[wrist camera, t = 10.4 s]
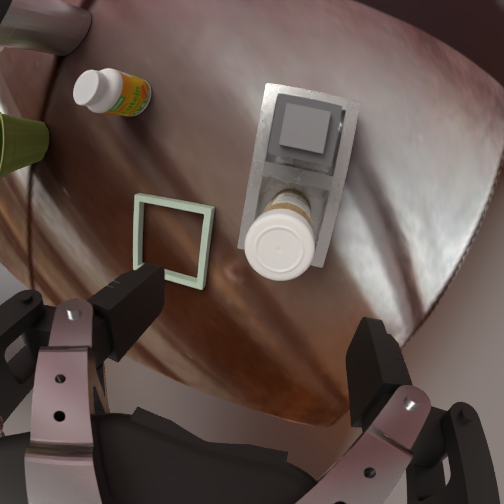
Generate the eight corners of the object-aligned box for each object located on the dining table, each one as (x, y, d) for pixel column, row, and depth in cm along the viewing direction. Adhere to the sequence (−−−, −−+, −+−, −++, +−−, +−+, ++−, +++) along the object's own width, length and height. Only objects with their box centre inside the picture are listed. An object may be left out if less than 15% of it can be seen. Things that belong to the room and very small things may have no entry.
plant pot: (51, 96, 30) (1, 94, 20) (63, 153, 33) (8, 162, 23) (21, 131, 34) (-24, 137, 23) (32, 184, 37) (-15, 197, 26)
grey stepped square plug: (279, 154, 28) (266, 153, 19) (287, 111, 26) (277, 91, 17) (323, 164, 27) (331, 167, 18) (332, 121, 25) (343, 104, 16)
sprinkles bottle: (261, 210, 30) (228, 251, 18) (288, 179, 28) (274, 198, 16) (292, 237, 30) (281, 296, 18) (320, 207, 29) (330, 248, 16)
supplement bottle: (141, 122, 30) (89, 117, 21) (114, 109, 30) (62, 104, 21) (159, 84, 28) (111, 68, 19) (130, 74, 28) (81, 60, 19)
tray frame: (137, 266, 37) (133, 269, 36) (139, 192, 33) (134, 194, 32) (205, 285, 36) (202, 290, 34) (215, 206, 32) (211, 208, 31)
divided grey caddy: (245, 237, 32) (237, 248, 29) (271, 92, 26) (266, 83, 22) (321, 254, 31) (322, 268, 27) (353, 109, 25) (360, 102, 21)
